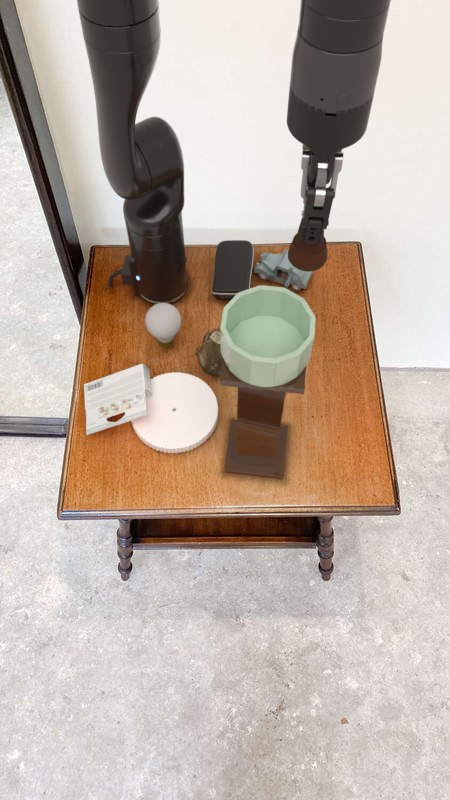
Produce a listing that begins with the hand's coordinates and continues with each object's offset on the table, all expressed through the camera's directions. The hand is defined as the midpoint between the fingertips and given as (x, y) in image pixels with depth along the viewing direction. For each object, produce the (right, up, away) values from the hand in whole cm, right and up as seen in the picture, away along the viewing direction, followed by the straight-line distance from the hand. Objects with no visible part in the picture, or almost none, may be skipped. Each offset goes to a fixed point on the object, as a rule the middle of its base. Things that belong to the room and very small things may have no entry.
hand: (311, 221), depth 72 cm
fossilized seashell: (-10, -12, +40) cm, 43 cm away
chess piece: (0, -3, +5) cm, 6 cm away
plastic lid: (-18, -23, +34) cm, 44 cm away
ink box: (-27, -16, +34) cm, 47 cm away
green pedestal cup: (-5, -28, +31) cm, 42 cm away
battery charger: (-9, -2, +44) cm, 45 cm away
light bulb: (-20, -10, +41) cm, 47 cm away
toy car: (+1, +2, +48) cm, 48 cm away
